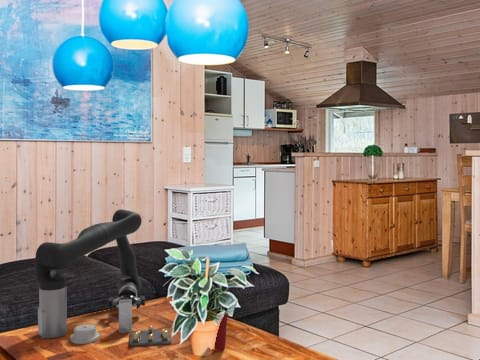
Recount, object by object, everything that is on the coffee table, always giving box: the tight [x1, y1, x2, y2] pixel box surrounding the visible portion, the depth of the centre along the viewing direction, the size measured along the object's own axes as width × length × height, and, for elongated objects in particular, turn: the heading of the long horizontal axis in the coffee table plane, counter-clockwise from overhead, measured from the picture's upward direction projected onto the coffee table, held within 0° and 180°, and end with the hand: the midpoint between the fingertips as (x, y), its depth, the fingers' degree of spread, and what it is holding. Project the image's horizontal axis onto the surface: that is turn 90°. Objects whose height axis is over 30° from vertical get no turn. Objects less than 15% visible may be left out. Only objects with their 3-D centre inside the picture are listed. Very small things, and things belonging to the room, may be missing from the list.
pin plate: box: [129, 325, 172, 347], centre depth 178 cm, size 14×12×4 cm
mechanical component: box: [69, 324, 101, 345], centre depth 178 cm, size 10×4×10 cm
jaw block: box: [118, 299, 133, 334], centre depth 186 cm, size 4×4×11 cm
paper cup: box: [214, 312, 228, 352], centre depth 170 cm, size 8×8×14 cm
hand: (126, 306), depth 195 cm, fingers open, 8 cm apart
